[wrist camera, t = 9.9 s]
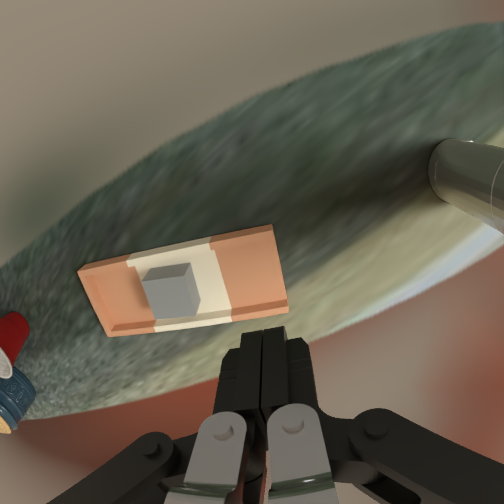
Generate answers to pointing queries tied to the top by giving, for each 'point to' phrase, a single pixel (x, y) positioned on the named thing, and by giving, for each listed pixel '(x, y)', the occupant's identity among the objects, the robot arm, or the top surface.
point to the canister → (14, 400)
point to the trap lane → (206, 276)
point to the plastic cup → (11, 341)
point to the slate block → (172, 291)
